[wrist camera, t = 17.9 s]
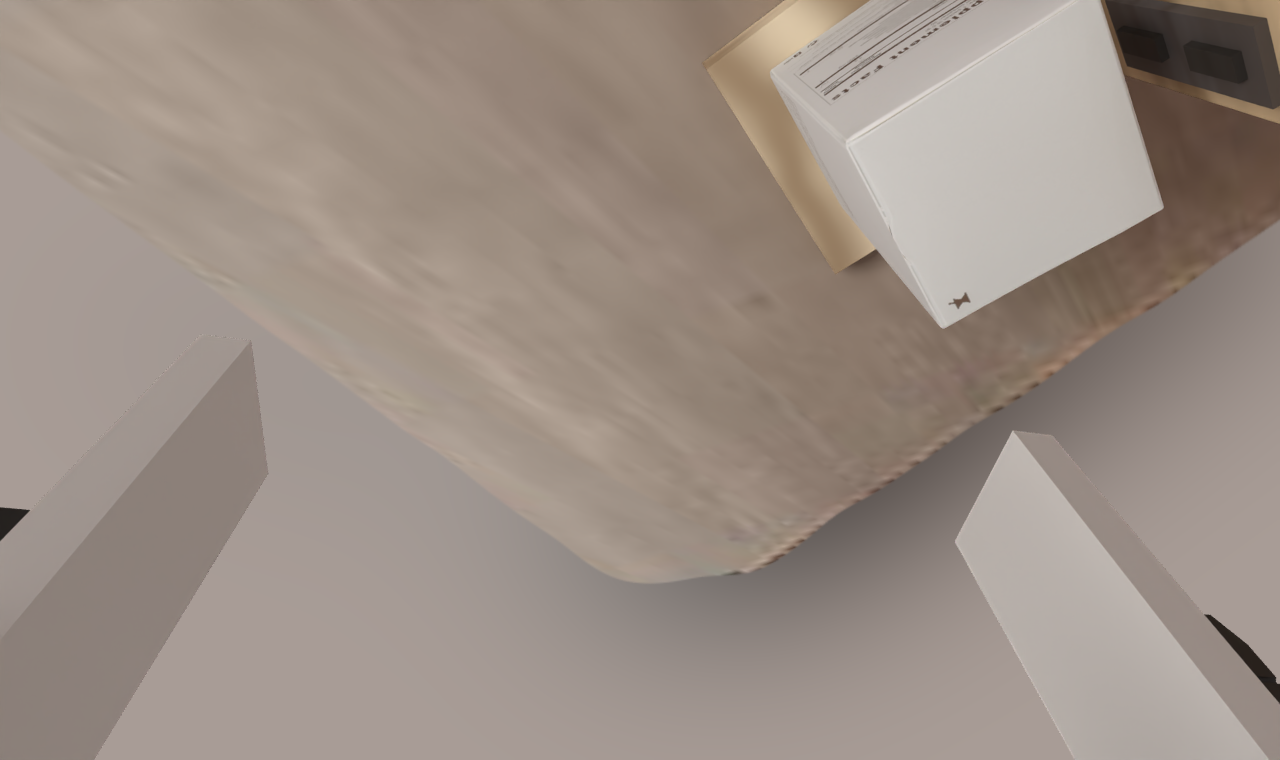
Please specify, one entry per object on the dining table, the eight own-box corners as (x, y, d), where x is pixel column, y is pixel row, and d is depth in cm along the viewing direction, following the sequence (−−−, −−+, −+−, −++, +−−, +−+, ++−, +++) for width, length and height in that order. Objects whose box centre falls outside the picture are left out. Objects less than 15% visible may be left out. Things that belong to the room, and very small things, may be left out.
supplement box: (994, 118, 40) (1175, 214, 27) (841, 210, 42) (941, 340, 29) (928, -46, 35) (1107, -23, 23) (763, 68, 38) (841, 146, 25)
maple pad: (827, 260, 46) (835, 274, 44) (702, 62, 39) (706, 69, 38) (1047, 121, 42) (1066, 130, 40) (948, -124, 35) (965, -125, 34)
